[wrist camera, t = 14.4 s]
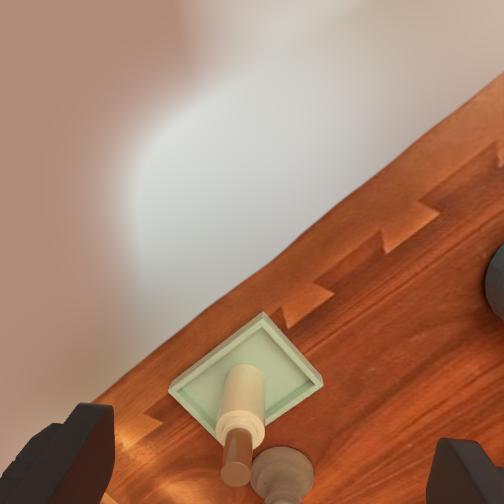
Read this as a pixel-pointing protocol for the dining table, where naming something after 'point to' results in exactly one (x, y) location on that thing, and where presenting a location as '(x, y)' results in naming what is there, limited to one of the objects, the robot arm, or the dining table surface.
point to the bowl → (496, 283)
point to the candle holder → (282, 475)
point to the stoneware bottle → (240, 422)
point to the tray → (254, 353)
